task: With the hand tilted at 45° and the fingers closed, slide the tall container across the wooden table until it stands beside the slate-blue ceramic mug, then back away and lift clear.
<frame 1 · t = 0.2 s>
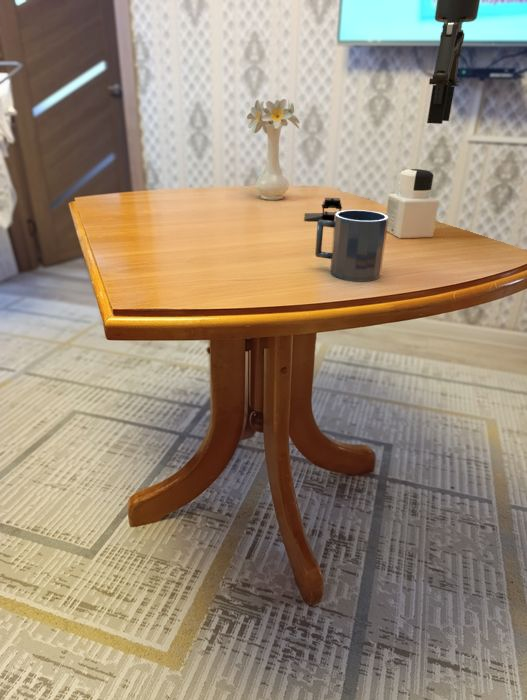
hand: (438, 122, 103), 22 cm above the table, tool pointing down, fingers open, 13 cm apart
container: (407, 234, 109), on the table
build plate: (330, 219, 121), on the table
flower vase: (269, 198, 143), on the table
mug: (355, 273, 84), on the table
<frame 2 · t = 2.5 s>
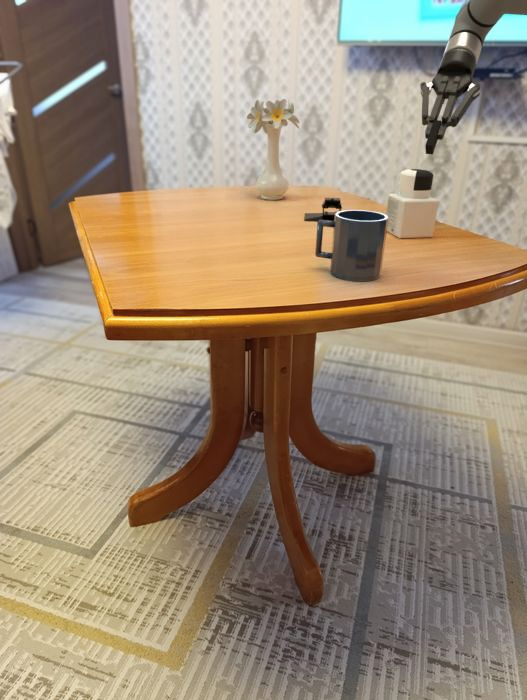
hand: (429, 149, 107), 16 cm above the table, tool tilted 45°, fingers closed
nothing on the table moved.
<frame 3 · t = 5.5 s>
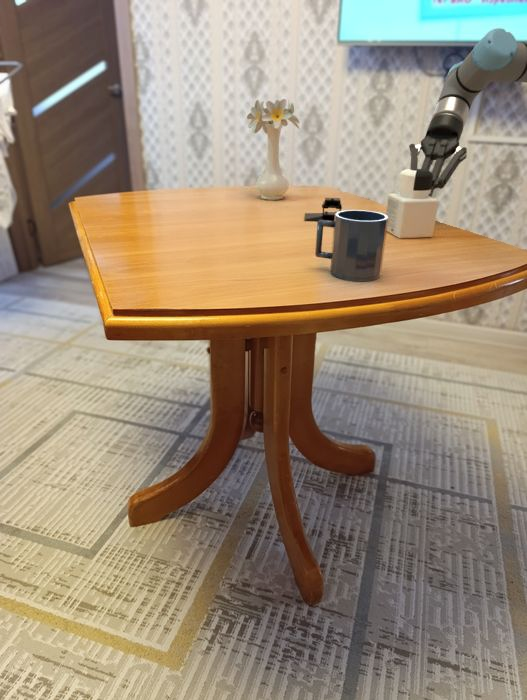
hand: (416, 211, 111), 4 cm above the table, tool tilted 45°, fingers closed
container: (407, 234, 109), on the table, touching gripper
everything else where it was.
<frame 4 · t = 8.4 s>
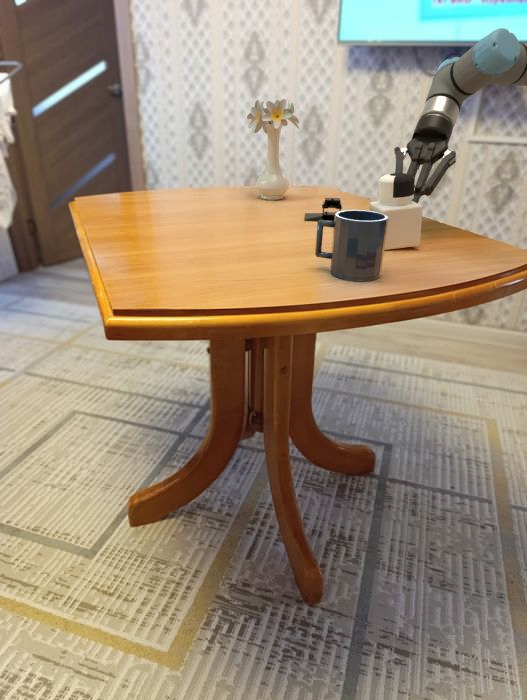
hand: (401, 220, 102), 4 cm above the table, tool tilted 45°, fingers closed
container: (393, 244, 101), on the table, touching gripper
everything else where it was.
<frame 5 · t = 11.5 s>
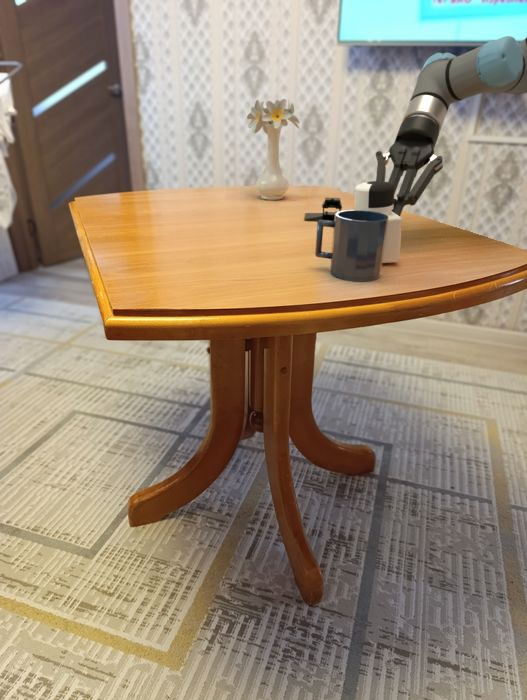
hand: (382, 232, 93), 4 cm above the table, tool tilted 45°, fingers closed
container: (372, 258, 91), on the table, touching gripper, mug
everything else where it was.
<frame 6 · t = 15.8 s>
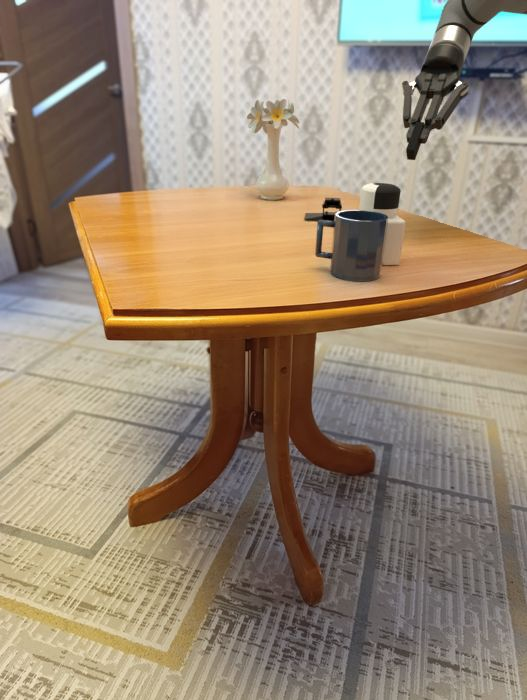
hand: (410, 154, 96), 17 cm above the table, tool tilted 45°, fingers closed
container: (372, 260, 92), on the table
everything else where it was.
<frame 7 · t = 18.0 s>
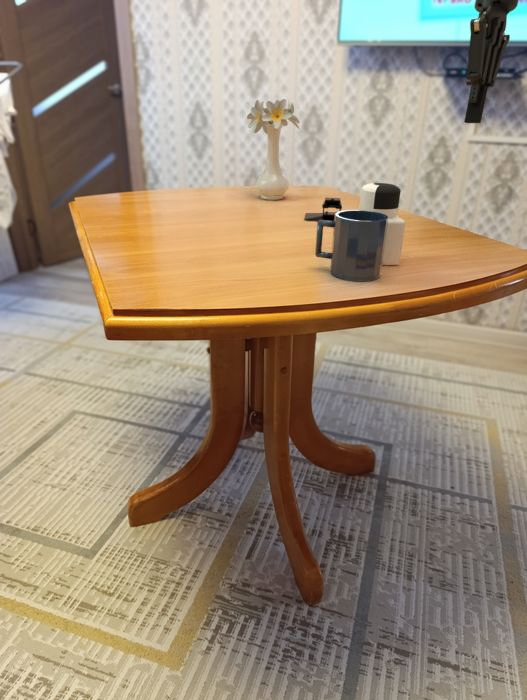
hand: (472, 122, 101), 22 cm above the table, tool pointing down, fingers closed
nothing on the table moved.
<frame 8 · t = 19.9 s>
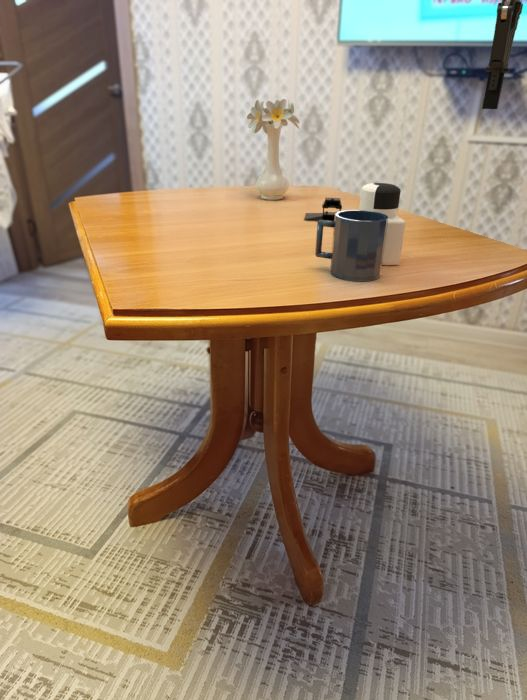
hand: (489, 108, 102), 24 cm above the table, tool pointing down, fingers closed
nothing on the table moved.
at the end: container 9.4 cm from the mug (horizontally); container tilted 0°; container moved 22.6 cm from its start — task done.
